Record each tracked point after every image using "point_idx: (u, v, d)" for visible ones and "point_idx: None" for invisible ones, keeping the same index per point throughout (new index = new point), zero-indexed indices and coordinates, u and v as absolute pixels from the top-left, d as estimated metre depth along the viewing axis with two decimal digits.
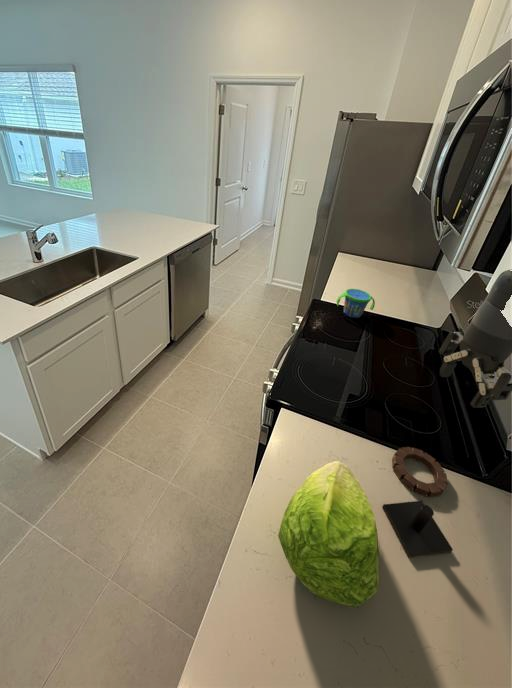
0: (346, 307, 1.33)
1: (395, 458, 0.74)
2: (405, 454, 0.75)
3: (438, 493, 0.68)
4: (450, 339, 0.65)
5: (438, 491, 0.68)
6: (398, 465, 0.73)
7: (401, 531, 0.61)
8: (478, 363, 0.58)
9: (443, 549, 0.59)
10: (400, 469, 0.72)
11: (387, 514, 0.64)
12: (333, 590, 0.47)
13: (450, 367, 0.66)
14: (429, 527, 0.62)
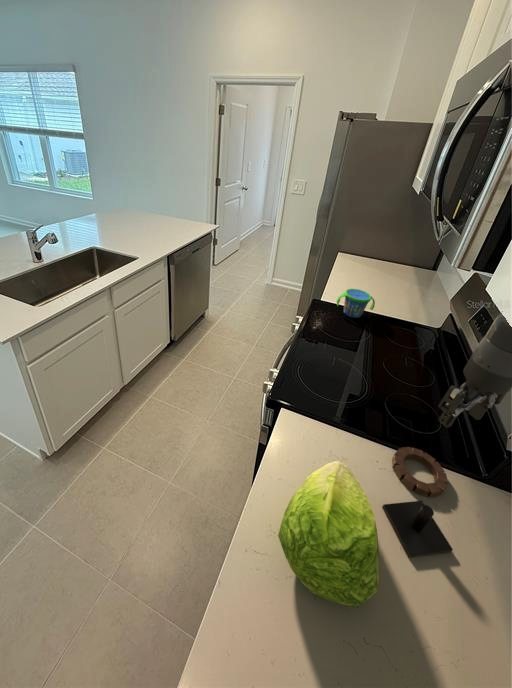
0: (346, 307, 1.33)
1: (395, 458, 0.74)
2: (405, 454, 0.75)
3: (438, 493, 0.68)
4: None
5: (438, 491, 0.68)
6: (398, 465, 0.73)
7: (401, 531, 0.61)
8: None
9: (443, 549, 0.59)
10: (400, 469, 0.72)
11: (387, 514, 0.64)
12: (333, 590, 0.47)
13: (478, 408, 0.66)
14: (429, 527, 0.62)
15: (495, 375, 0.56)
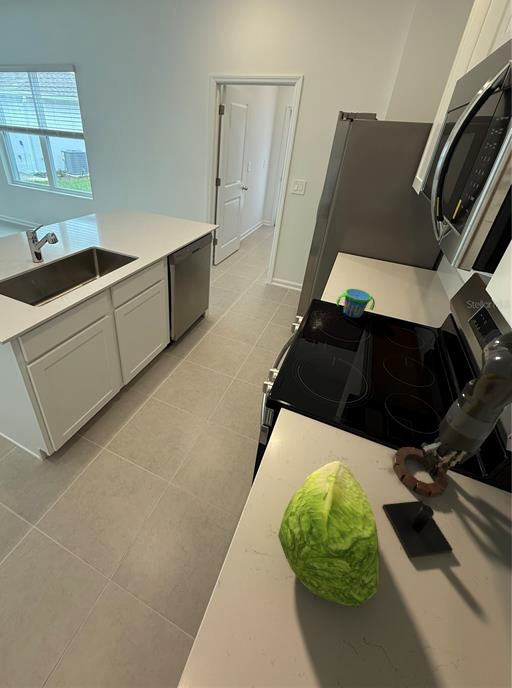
0: (346, 307, 1.33)
1: (395, 458, 0.74)
2: (405, 454, 0.75)
3: (439, 493, 0.68)
4: None
5: (438, 491, 0.68)
6: (398, 465, 0.73)
7: (401, 531, 0.61)
8: None
9: (443, 549, 0.59)
10: (400, 469, 0.72)
11: (387, 514, 0.64)
12: (333, 590, 0.47)
13: (442, 464, 0.73)
14: (429, 527, 0.62)
15: (461, 435, 0.63)
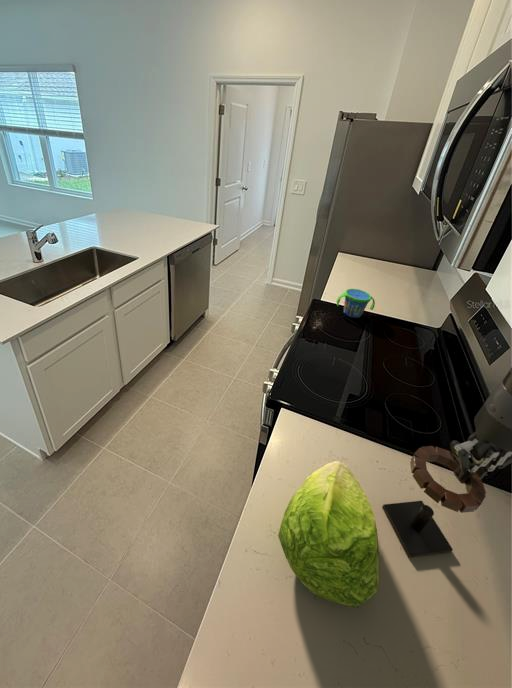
0: (346, 307, 1.33)
1: (415, 460, 0.57)
2: (427, 455, 0.58)
3: (474, 508, 0.51)
4: None
5: (474, 505, 0.51)
6: (419, 469, 0.56)
7: (401, 531, 0.61)
8: None
9: (443, 549, 0.59)
10: (422, 475, 0.55)
11: (387, 514, 0.64)
12: (333, 590, 0.47)
13: (476, 468, 0.56)
14: (429, 527, 0.62)
15: (509, 430, 0.46)
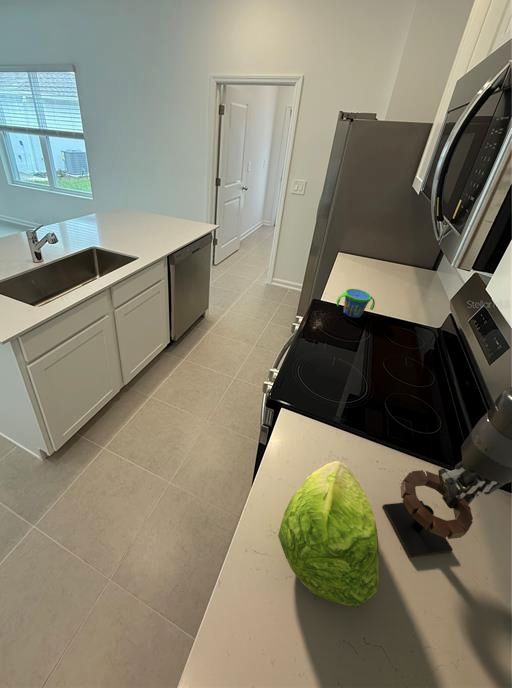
0: (346, 307, 1.33)
1: (405, 486, 0.59)
2: (417, 480, 0.60)
3: (461, 534, 0.53)
4: None
5: (461, 531, 0.53)
6: (409, 495, 0.57)
7: (401, 531, 0.61)
8: None
9: (443, 549, 0.59)
10: (411, 501, 0.56)
11: (387, 514, 0.64)
12: (333, 590, 0.47)
13: None
14: None
15: (493, 461, 0.48)
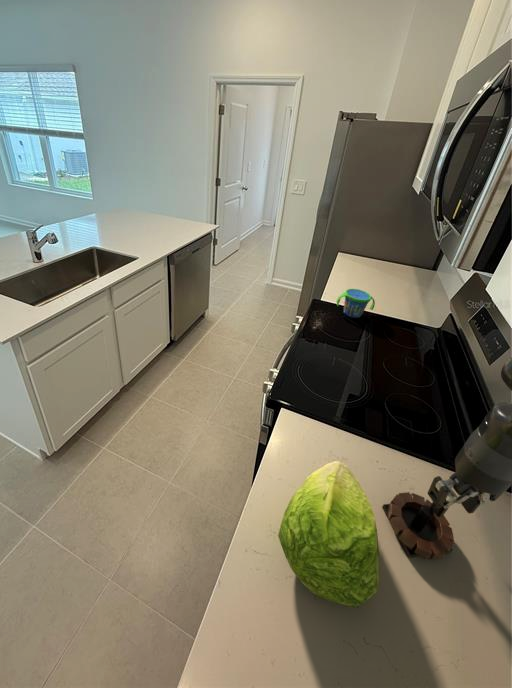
0: (346, 307, 1.33)
1: (391, 508, 0.63)
2: (403, 502, 0.64)
3: (443, 555, 0.57)
4: None
5: (443, 552, 0.57)
6: (395, 517, 0.61)
7: None
8: None
9: None
10: (397, 523, 0.61)
11: (387, 514, 0.64)
12: (333, 590, 0.47)
13: (470, 500, 0.59)
14: (429, 527, 0.62)
15: (485, 474, 0.50)
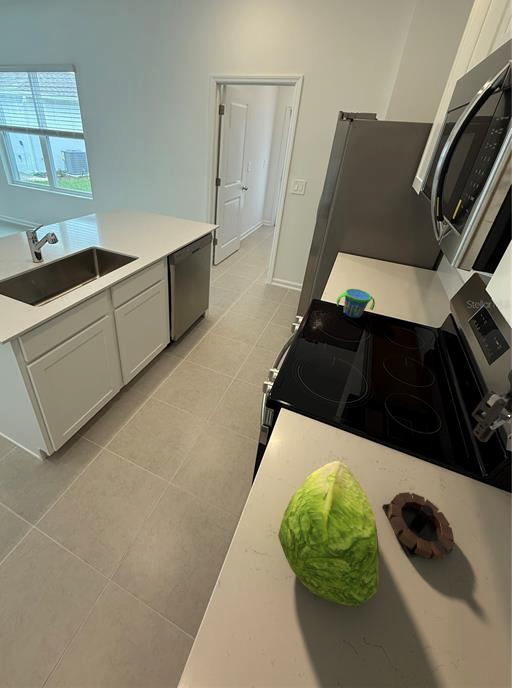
0: (346, 307, 1.33)
1: (391, 508, 0.63)
2: (403, 502, 0.64)
3: (443, 555, 0.57)
4: None
5: (443, 552, 0.57)
6: (395, 517, 0.61)
7: None
8: None
9: None
10: (397, 523, 0.61)
11: (387, 514, 0.64)
12: (333, 590, 0.47)
13: None
14: (429, 527, 0.62)
15: None
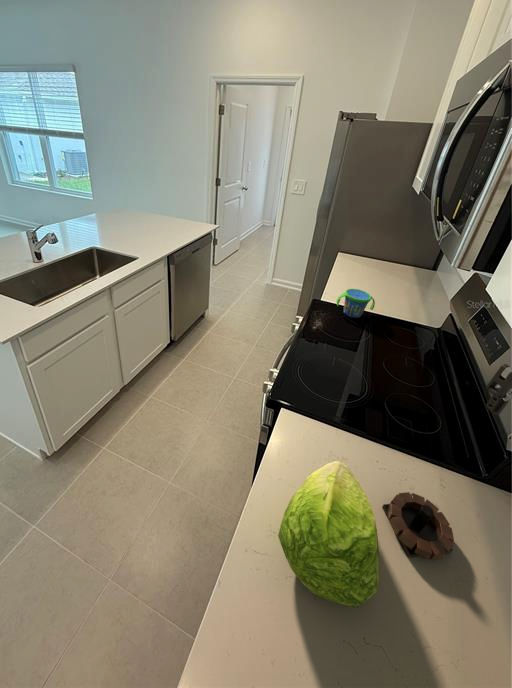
0: (346, 307, 1.33)
1: (391, 508, 0.63)
2: (403, 502, 0.64)
3: (443, 555, 0.57)
4: None
5: (443, 552, 0.57)
6: (395, 517, 0.61)
7: None
8: None
9: None
10: (397, 523, 0.61)
11: (387, 514, 0.64)
12: (333, 590, 0.47)
13: None
14: (429, 527, 0.62)
15: None
